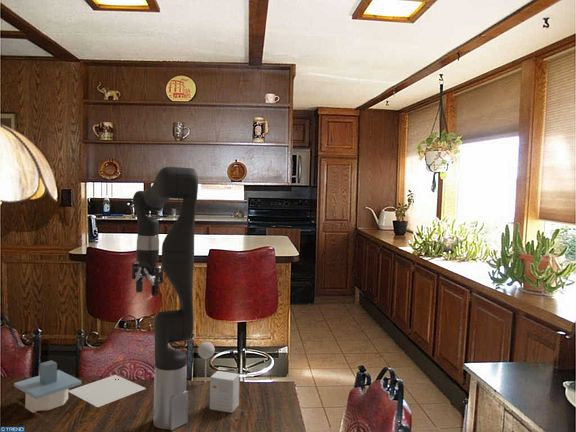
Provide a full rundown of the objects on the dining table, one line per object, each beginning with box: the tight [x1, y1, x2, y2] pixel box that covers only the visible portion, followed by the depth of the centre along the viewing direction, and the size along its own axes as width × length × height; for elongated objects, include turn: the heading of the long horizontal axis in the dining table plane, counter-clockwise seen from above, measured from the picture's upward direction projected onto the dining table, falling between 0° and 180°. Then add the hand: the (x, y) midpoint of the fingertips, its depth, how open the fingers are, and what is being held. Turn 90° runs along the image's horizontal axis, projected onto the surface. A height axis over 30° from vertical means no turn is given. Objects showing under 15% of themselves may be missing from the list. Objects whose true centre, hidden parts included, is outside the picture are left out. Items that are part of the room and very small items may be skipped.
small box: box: [209, 370, 240, 414], centre depth 143 cm, size 8×6×10 cm
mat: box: [68, 374, 147, 408], centre depth 151 cm, size 18×18×1 cm
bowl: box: [24, 388, 69, 414], centre depth 141 cm, size 11×11×6 cm
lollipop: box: [197, 341, 216, 384], centre depth 161 cm, size 6×6×15 cm
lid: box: [13, 360, 83, 399], centre depth 141 cm, size 14×14×7 cm
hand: (146, 293), depth 157 cm, fingers open, 8 cm apart
